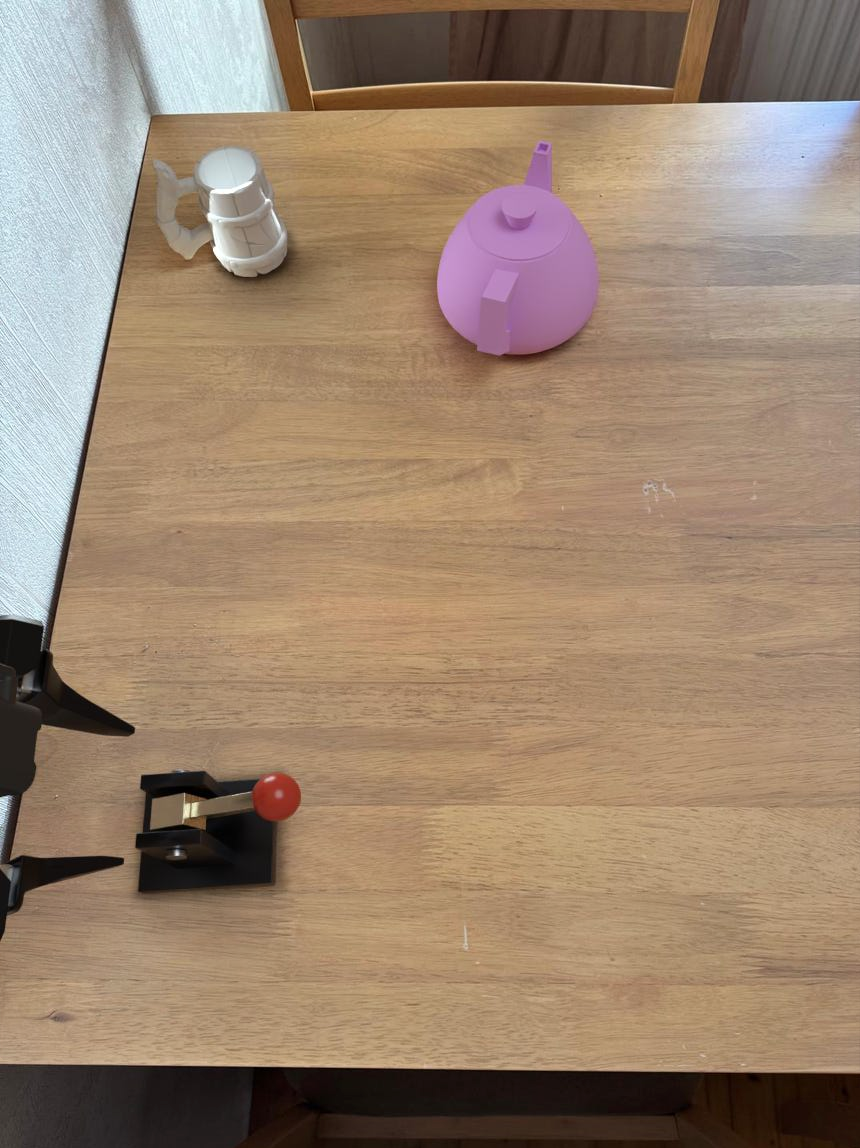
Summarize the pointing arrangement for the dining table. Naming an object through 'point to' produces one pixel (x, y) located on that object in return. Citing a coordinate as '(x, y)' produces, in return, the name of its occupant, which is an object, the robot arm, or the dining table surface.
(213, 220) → the mug
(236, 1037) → the dining table surface
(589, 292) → the teapot
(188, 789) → the switch bracket
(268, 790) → the lever
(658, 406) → the dining table surface
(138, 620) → the dining table surface
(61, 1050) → the dining table surface
